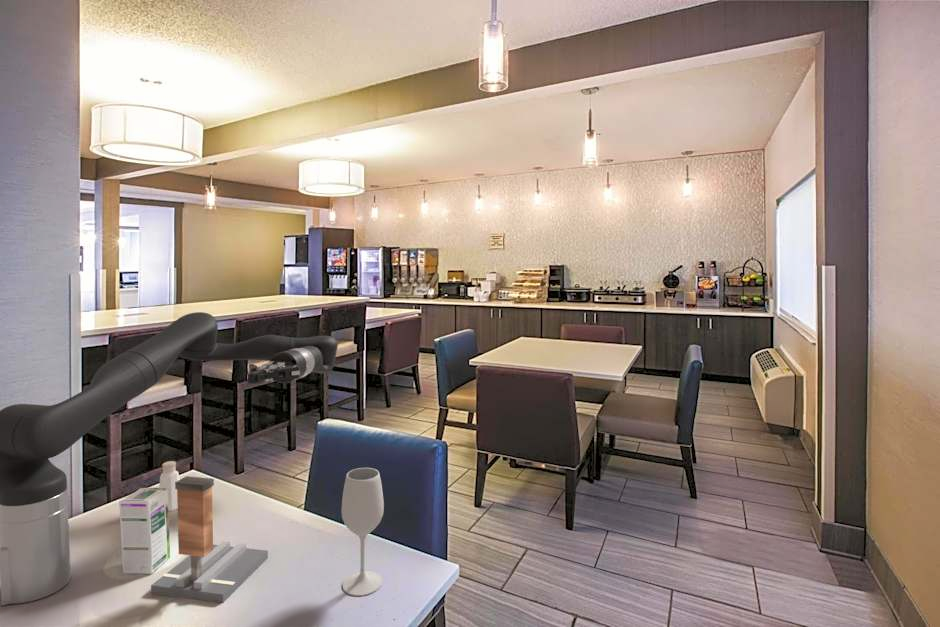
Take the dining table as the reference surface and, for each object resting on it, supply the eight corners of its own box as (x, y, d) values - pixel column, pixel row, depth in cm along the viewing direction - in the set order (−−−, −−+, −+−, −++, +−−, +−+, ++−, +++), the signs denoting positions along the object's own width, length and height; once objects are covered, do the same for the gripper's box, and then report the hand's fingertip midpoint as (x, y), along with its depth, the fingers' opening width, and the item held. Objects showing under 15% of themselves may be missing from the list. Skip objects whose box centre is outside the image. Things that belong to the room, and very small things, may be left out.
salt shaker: (180, 499, 124) (179, 457, 123) (185, 507, 120) (184, 463, 119) (155, 505, 121) (154, 461, 120) (158, 514, 116) (157, 468, 116)
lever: (188, 573, 91) (186, 476, 90) (215, 576, 90) (213, 478, 89) (177, 582, 88) (175, 482, 87) (204, 586, 87) (203, 485, 86)
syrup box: (151, 575, 93) (149, 500, 92) (120, 574, 93) (118, 499, 92) (170, 557, 99) (169, 487, 98) (141, 556, 99) (139, 486, 98)
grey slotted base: (204, 550, 102) (204, 537, 101) (267, 557, 100) (267, 544, 99) (151, 593, 88) (150, 578, 88) (223, 602, 86) (222, 587, 86)
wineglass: (389, 575, 95) (390, 468, 93) (371, 600, 87) (372, 485, 86) (354, 568, 97) (354, 463, 95) (333, 592, 89) (333, 479, 88)
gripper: (267, 348, 122) (222, 359, 105) (318, 350, 120) (280, 362, 103) (268, 378, 122) (223, 394, 105) (318, 381, 120) (280, 398, 103)
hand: (251, 378), depth 104 cm, fingers closed
